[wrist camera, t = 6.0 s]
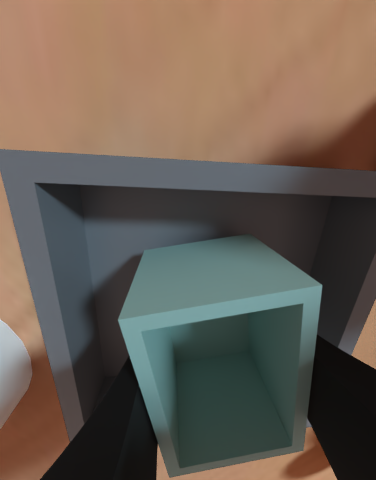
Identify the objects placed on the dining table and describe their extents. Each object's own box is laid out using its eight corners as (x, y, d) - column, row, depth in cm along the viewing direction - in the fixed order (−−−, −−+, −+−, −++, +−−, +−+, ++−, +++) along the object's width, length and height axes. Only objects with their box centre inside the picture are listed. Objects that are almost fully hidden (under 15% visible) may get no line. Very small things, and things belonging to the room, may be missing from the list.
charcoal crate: (342, 175, 11) (429, 174, 7) (286, 368, 16) (320, 426, 12) (63, 159, 10) (-6, 149, 6) (96, 376, 15) (70, 443, 11)
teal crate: (249, 233, 10) (322, 284, 5) (253, 346, 12) (303, 450, 8) (144, 250, 10) (117, 319, 5) (170, 361, 12) (169, 477, 7)
